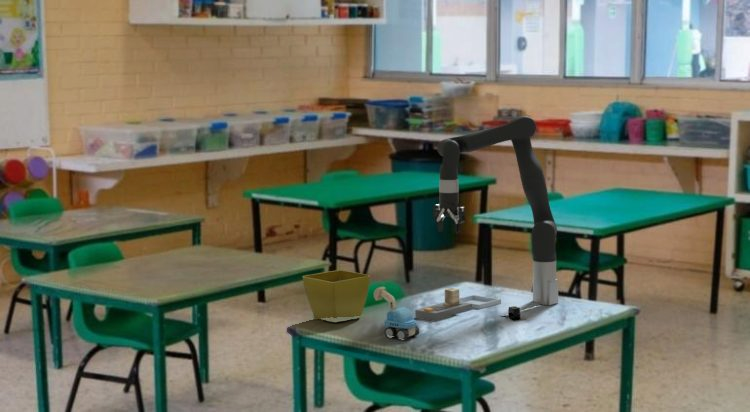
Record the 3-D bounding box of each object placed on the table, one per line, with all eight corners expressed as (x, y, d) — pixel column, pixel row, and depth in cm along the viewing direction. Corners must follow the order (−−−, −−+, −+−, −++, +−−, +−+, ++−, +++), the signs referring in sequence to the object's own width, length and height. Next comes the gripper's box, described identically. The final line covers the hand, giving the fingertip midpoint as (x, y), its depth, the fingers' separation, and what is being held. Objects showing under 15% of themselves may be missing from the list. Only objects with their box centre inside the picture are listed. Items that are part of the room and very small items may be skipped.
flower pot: (302, 318, 479) (301, 275, 476) (341, 311, 491) (340, 269, 489) (333, 326, 464) (332, 282, 462) (372, 319, 476) (371, 275, 474)
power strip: (472, 311, 487) (471, 301, 486) (435, 321, 470) (435, 311, 470) (451, 308, 493) (451, 298, 493) (415, 317, 477) (415, 307, 477)
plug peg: (459, 312, 486) (459, 289, 485) (453, 313, 483) (452, 290, 482) (451, 310, 488) (451, 288, 487) (444, 312, 485) (444, 289, 484)
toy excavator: (385, 330, 457) (384, 284, 454) (421, 337, 446) (421, 289, 444) (370, 335, 450) (369, 288, 448) (406, 341, 440) (406, 293, 437)
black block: (530, 321, 470) (530, 309, 469) (513, 323, 467) (513, 311, 467) (514, 315, 481) (514, 303, 481) (497, 317, 479) (497, 305, 478)
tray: (501, 305, 497) (501, 299, 496) (479, 311, 487) (479, 304, 486) (473, 300, 506) (473, 294, 506) (451, 306, 496) (451, 300, 496)
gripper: (469, 191, 486) (469, 232, 488) (440, 188, 495) (441, 229, 498) (457, 193, 480) (457, 235, 482) (428, 190, 490) (429, 231, 492)
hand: (449, 232), depth 490 cm, fingers open, 8 cm apart
